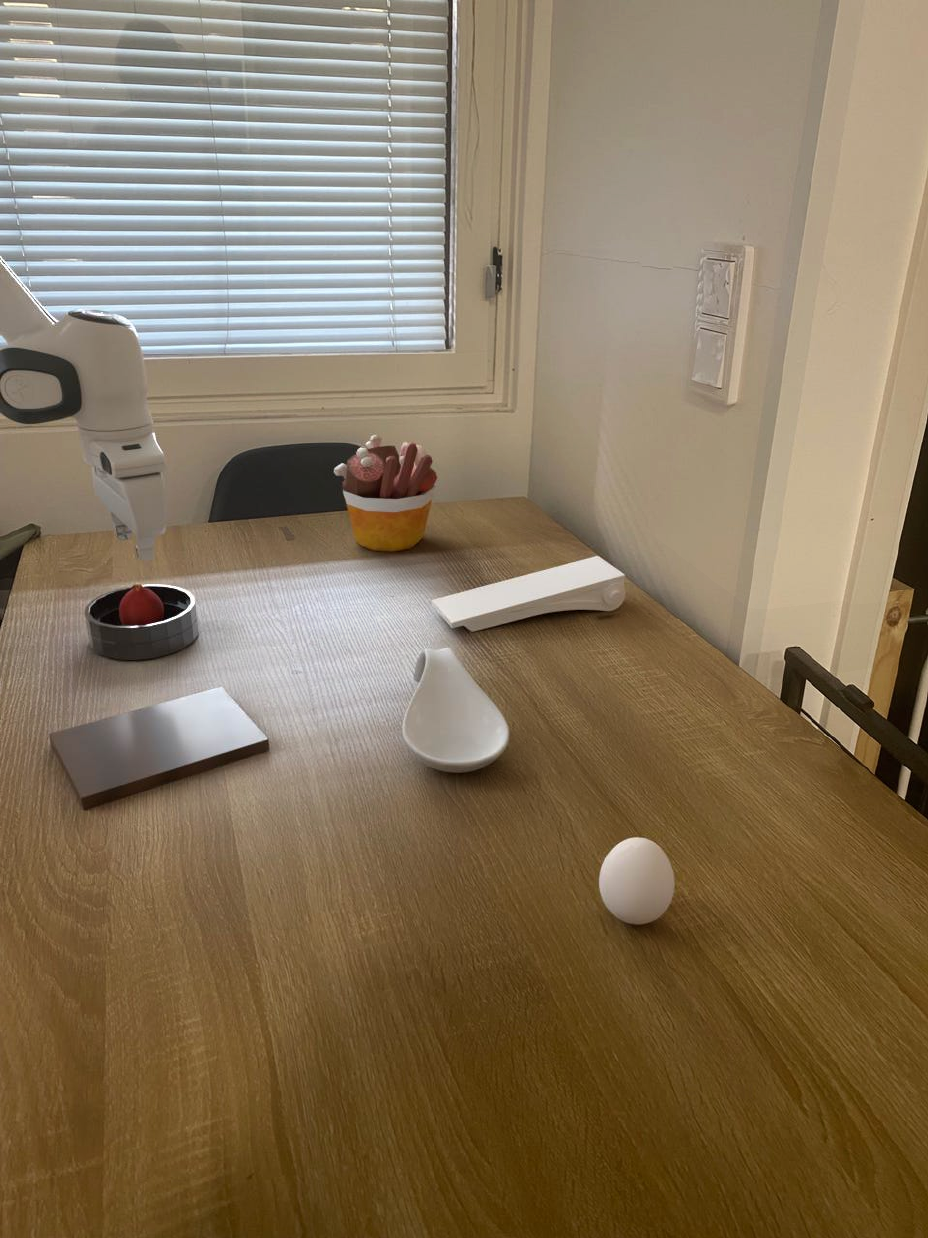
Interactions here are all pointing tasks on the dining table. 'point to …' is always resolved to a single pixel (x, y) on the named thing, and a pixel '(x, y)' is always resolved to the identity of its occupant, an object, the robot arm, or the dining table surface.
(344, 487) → the bucket of meat
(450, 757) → the spoon rest
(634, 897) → the egg
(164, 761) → the board
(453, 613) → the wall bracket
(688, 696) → the dining table surface
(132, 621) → the onion
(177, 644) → the pan
